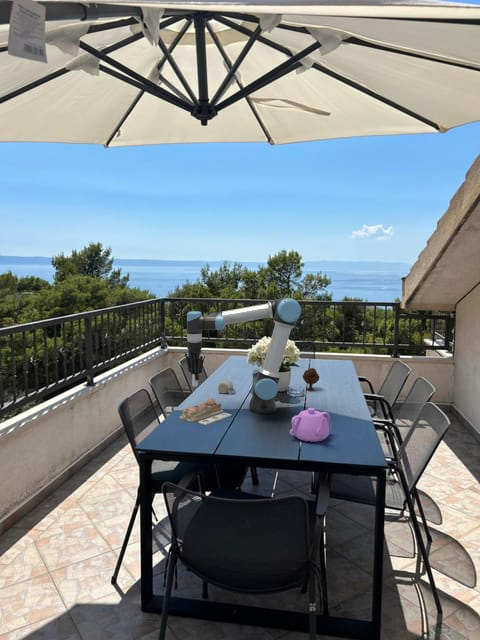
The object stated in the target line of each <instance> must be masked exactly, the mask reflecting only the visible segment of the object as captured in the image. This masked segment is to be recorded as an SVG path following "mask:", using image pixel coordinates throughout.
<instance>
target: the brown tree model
mask: <svg viewBox="0 0 480 640" xmlns="http://www.w3.org/2000/svg"><path fill="white" fill-rule="evenodd" d="M302 379H303V381H304V382H305V383H306V384H308V386H309V387H308V388H306V391H307V390H308V391H307V392H315V391H314V390H315V388H313V385H314V384H316V383H317V382H318V381H319V380H320V375H319V373H318V372H317V369H316V368H314V367H310V368H309V369H307V370H304V372H303V375H302Z"/></svg>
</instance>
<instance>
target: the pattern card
mask: <svg viewBox="0 0 480 640" xmlns="http://www.w3.org/2000/svg"><path fill="white" fill-rule="evenodd" d="M229 417H232V414H231V413H227V412H222V413H219V414H216V415H213V416H210V417H207V418H204V419H201V420H198V421H197V422H198V424H201V425H204V426H206V425H209V424H213V423H214V422H218V421H220V420H223V419H226V418H229Z"/></svg>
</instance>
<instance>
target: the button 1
mask: <svg viewBox="0 0 480 640" xmlns="http://www.w3.org/2000/svg"><path fill="white" fill-rule="evenodd" d="M187 408H188V411H190V412H194V411H197V408H195V407H193V406H191V407H187Z"/></svg>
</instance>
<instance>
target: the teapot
mask: <svg viewBox="0 0 480 640" xmlns="http://www.w3.org/2000/svg"><path fill="white" fill-rule="evenodd" d="M324 415H326V417H325V416H324ZM330 420H331V416H330V414H329V413H328V412H326V411H322V412H321V411H318V410H316V408H314V407H308V408H307V409H305V410H301V411H300V412H299V413H298V415H297V414H296V415H294V416H293V417H291V427H292V428H291V429H290V430H289V434H290V435H291V436H295V438H296V439H298V440H301V441H304V442H308V441H310V443H311V442H321V441H324V440H325V439H327V438H328V436H329V435H330V430H331V429H332V426H331V424H329V423H330Z"/></svg>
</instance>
